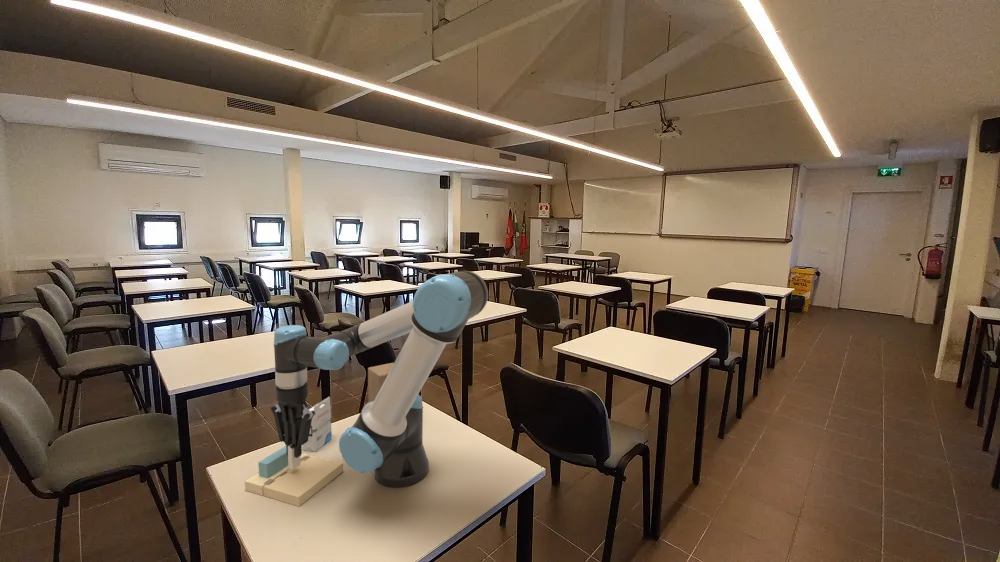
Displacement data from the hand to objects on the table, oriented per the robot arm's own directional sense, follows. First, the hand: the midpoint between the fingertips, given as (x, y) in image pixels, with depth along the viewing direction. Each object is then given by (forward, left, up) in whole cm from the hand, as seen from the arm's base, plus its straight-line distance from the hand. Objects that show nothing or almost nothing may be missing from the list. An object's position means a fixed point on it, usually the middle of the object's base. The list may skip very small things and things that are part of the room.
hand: (294, 466), depth 112 cm
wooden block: (-4, -38, -4) cm, 38 cm away
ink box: (+8, -17, -4) cm, 19 cm away
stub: (+6, 0, -4) cm, 7 cm away
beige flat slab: (-4, 0, -4) cm, 5 cm away
